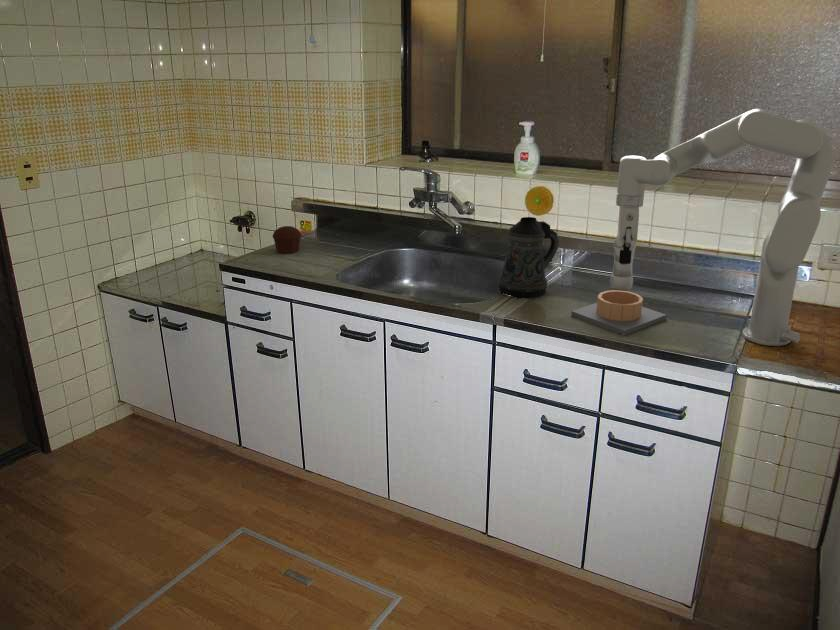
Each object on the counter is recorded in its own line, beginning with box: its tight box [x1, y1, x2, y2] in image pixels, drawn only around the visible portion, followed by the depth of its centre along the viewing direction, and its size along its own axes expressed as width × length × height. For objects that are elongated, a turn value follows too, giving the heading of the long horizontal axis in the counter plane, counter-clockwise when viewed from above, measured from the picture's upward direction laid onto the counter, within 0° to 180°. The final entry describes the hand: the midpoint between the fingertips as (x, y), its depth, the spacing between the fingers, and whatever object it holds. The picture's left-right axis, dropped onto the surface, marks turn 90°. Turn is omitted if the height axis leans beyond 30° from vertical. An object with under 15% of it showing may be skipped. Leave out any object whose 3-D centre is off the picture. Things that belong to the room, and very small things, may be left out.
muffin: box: [272, 225, 303, 255], centre depth 288 cm, size 12×11×10 cm
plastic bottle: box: [609, 234, 637, 291], centre depth 211 cm, size 6×7×20 cm
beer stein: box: [497, 216, 560, 299], centre depth 238 cm, size 16×19×25 cm
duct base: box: [571, 289, 667, 336], centre depth 217 cm, size 20×20×6 cm
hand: (623, 259), depth 211 cm, fingers closed on plastic bottle, 6 cm apart
